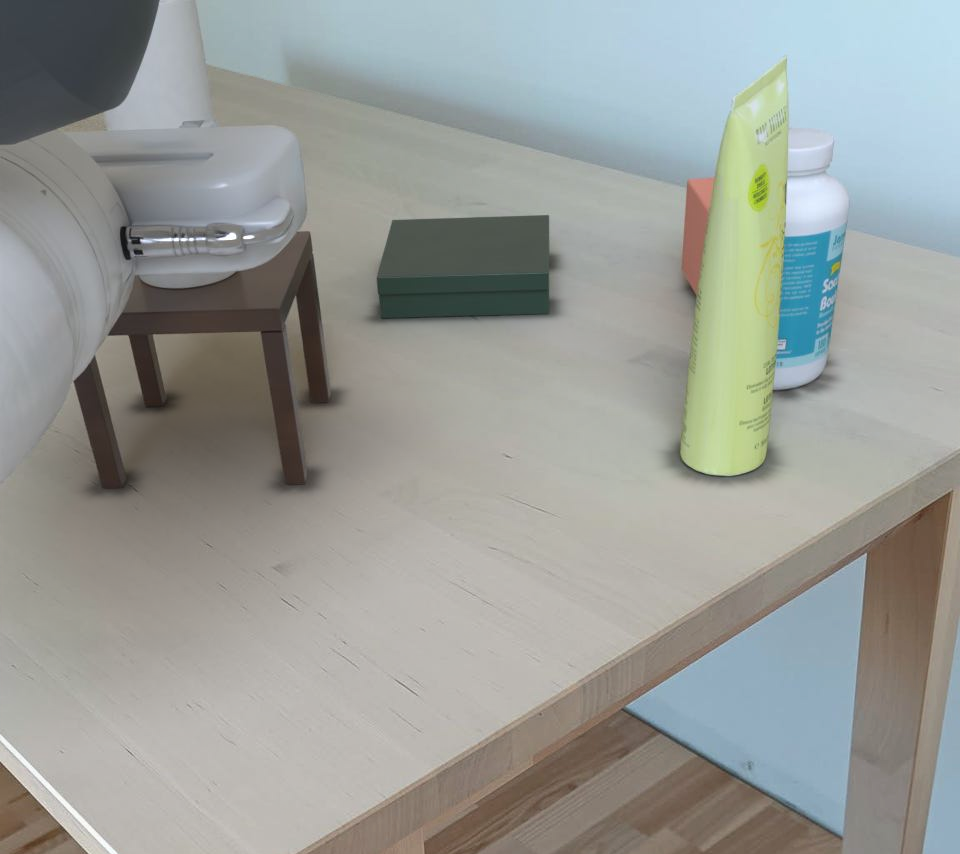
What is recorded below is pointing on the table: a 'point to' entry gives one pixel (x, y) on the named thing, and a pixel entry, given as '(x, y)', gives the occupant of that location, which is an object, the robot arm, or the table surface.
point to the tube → (740, 286)
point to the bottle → (170, 97)
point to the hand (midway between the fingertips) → (102, 143)
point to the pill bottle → (809, 258)
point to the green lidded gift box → (465, 267)
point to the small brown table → (220, 309)
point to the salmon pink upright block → (695, 227)
